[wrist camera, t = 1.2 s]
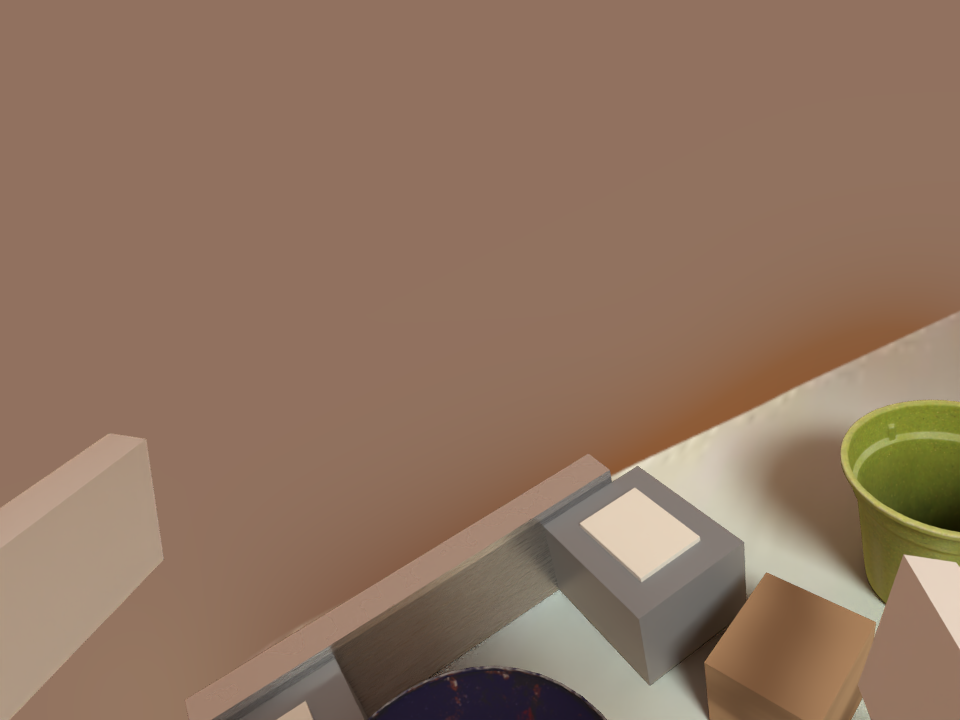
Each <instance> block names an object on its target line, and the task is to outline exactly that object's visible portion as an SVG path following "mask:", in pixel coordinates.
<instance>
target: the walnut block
mask: <svg viewBox="0 0 960 720" xmlns="http://www.w3.org/2000/svg"><path fill="white" fill-rule="evenodd" d="M875 626H876V622H874V621H872V620H870V619H868V618H866V617H863V616H861V615H859V614H857V613H855V612H852V611H850V610H848V609H846V608H844V607H841V606H839V605H837V604H835V603H833V602H830V601H828V600H826V599H824V598H822V597H819V596H817V595H815V594H813V593H811V592H808V591H806V590H804V589H802V588H800V587H797V586H795V585H793V584H791V583H789V582H786V581H784V580H782V579H780V578H778V577H775V576H773V575H771V574H769V573H767V572H766V574H765V575H764V577H763V578H762V579H761V581H760V582H759V584H758V585H757V587H756V588H755V590H754V591H753V592H752V594H751V595H750V597H749V598H748V600H747V601H746V603H745V604H744V606H743V607H742V608H741V610H740V611H739V613H738V614H737V616H736V617H735V619H734V620H733V621H732V623H731V624H730V626H729V627H728V629H727V630H726V632H725V633H724V634H723V636H722V637H721V639H720V640H719V642H718V643H717V645H716V646H715V647H714V649H713V650H712V652H711V653H710V655H709V656H708V658H707V659H706V661H705V662H704V666H705V676H706V687H707V697H708V708H709V719H710V720H851V719H852V717H853V715H854V713H855V711H856V709H857V708H858V706H859V704H860V702H861V700H862V698H863V697H862V695H861V692H860V690H859V687H858V683H859V680H860V677H861V674H862V671H863V669H864V666H865V663H866V660H867V657H868V654H869V651H870V649H871V646H872V643H873V640H874V634H875Z"/></svg>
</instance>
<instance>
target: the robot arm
mask: <svg viewBox="0 0 960 720" xmlns="http://www.w3.org/2000/svg"><path fill="white" fill-rule="evenodd" d="M163 560H164V558H163V551H162V544H161V537H160V530H159V523H158V517H157V510H156V503H155V496H154V489H153V482H152V475H151V469H150V462H149V456H148V449H147V442H146V439H143V438H136V437H129V436H123V435H116V434H110V433H109V434H108V435H106V436H105V437H103V438H102V439H100V440H99V441H97V442H96V443H94V444H93V445H91V446H90V447H89V448H87V449H86V450H84V451H83V452H81V453H80V454H78V455H77V456H75V457H74V458H72V459H71V460H70V461H68V462H67V463H65V464H64V465H62V466H61V467H59V468H58V469H56V470H55V471H54V472H52V473H51V474H49V475H48V476H46V477H45V478H43V479H42V480H40V481H39V482H38V483H36V484H35V485H33V486H32V487H30V488H29V489H27V490H26V491H24V492H23V493H21V494H20V495H19V496H17V497H16V498H14V499H13V500H11V501H10V502H8V503H7V504H5V505H4V506H3V507H1V508H0V720H10V719H11V718H12V717H13V716H14V715H15V714H16V713H17V712H18V711H19V710H20V709H21V708H22V707H23V706H24V705H25V704H26V703H27V701H28V700H29V699H30V698H31V697H32V696H33V695H34V694H35V693H36V692H37V691H38V690H39V689H40V688H41V687H42V686H43V685H44V684H45V683H46V682H47V681H48V680H49V679H50V678H51V677H52V675H53V674H54V673H55V672H56V671H57V670H58V669H59V668H60V667H61V666H62V665H63V664H64V663H65V662H66V661H67V660H68V659H69V658H70V657H71V655H72V654H74V652H75V651H76V650H77V649H78V648H79V647H80V646H81V645H82V644H83V643H84V642H85V641H86V640H87V639H88V638H89V637H90V636H91V635H92V634H93V633H94V632H95V630H96V629H98V628H99V626H100V625H101V624H102V623H103V622H104V621H105V620H106V619H107V618H108V617H109V616H110V615H111V614H112V613H113V612H114V611H115V610H116V609H117V608H118V607H119V606H120V605H121V603H123V601H124V600H125V599H126V598H127V597H128V596H129V595H130V594H131V593H132V592H133V591H134V590H135V589H136V588H137V587H138V586H139V585H140V584H141V583H142V582H143V581H144V580H145V579H146V578H147V576H148V575H149V574H150V573H151V572H152V571H153V570H154V569H155V568H156V567H157V566H158V565H159V564H160V563H161V562H162V561H163ZM858 687H859V690H860V692H861V695H862V697H863V700H864V702H865V705H866V708H867V710H868V713H869V715H870V718H871V720H960V567H959V565H958V564H957V563H956V562H950V561H943V560H937V559H930V558H924V557H917V556H911V555H903V557H902V560H901V563H900V566H899V569H898V572H897V575H896V577H895V580H894V583H893V586H892V589H891V592H890V594H889V597H888V600H887V603H886V606H885V609H884V612H883V614H882V617H881V620H880V623H879V626H878V629H877V631H876V634H875V637H874V640H873V643H872V646H871V649H870V651H869V654H868V657H867V660H866V663H865V666H864V669H863V671H862V674H861V677H860V680H859V683H858Z"/></svg>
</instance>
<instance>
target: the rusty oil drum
mask: <svg viewBox="0 0 960 720" xmlns="http://www.w3.org/2000/svg"><path fill="white" fill-rule="evenodd" d="M368 720H607V719H606V718H605V717H604V716H603V714H602V713H601V712H600V711H599V710H597V709H596V708H595V707H594V706H593V705H592V704H591V703H589V702H588V701H587V700H586V699H585V698H584V697H583V696H581V695H580V694H578V693H576V692H575V691H573V690H572V689H570V688H569V687H567V686H565V685H564V684H562V683H560V682H558V681H555V680H553V679H551V678H549V677H546V676H544V675H542V674H539V673H535V672H531V671H527V670H523V669H519V668H511V667H500V666H486V667H471V668H466V669H461V670H456V671H451V672H447V673H445V674H442V675H439V676H436V677H433V678H430V679H427V680H425V681H423V682H421V683H419V684H417V685H415V686H413V687H411V688H409V689H407V690H405V691H404V692H402V693H401V694H400V695H398V696H397V697H395V698H394V699H392V700H391V701H389V702H388V703H386V704H385V705H384V706H382V707H381V708H380V709H379V710H378V711H377V712H376V713H374V714H373V715H372V716H371V717H370V718H369V719H368Z"/></svg>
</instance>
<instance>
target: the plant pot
mask: <svg viewBox="0 0 960 720" xmlns="http://www.w3.org/2000/svg"><path fill="white" fill-rule="evenodd" d="M841 465H842V468H843V472H844V474H845V476H846V478H847V480H848V482H849V483H850V485H851V486H852V488H853V491H854V493H855V496H856V498H857V499H858V507H859V517H860V525H861V534H862V544H863V554H864V563H865V570H866V575H867V578H868V581H869V583H870V585H871V587H872V588H873V590H874V591H875V592H876V594H877V595H878V596H879V597H880V598H881V599H882V600H883V601H884V602H885V603H887V600H888V597H889V594H890V592H891V589H892V586H893V583H894V580H895V577H896V575H897V572H898V569H899V566H900V563H901V560H902V557H903V555H911V556H917V557H924V558H930V559H937V560H943V561H950V562H956V563H957V564H958V565H959V567H960V402H956V401H947V400H917V401H908V402H901V403H896V404H892V405H888V406H885V407H882V408H879V409H876V410H874V411H871V412H870V413H868V414H866V415H865V416H863V417H862V418H860V419H859V420H858V421H856V422H855V423H854V424H853V425H852V426H851V427H850V428H849V430H848V431H847V433H846V434H845V436H844V438H843V441H842V444H841Z"/></svg>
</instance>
